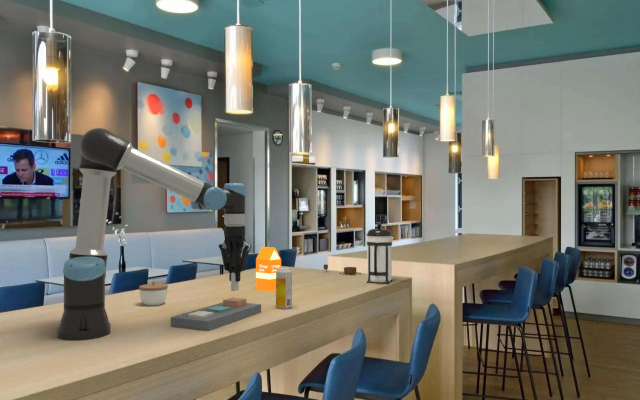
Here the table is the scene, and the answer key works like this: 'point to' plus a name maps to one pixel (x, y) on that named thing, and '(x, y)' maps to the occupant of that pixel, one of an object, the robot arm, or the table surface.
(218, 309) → the teal button
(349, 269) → the place setting
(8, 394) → the table surface
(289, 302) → the beer can
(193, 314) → the cream button
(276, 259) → the orange juice
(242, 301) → the terracotta button
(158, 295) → the lidded jar
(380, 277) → the coffee press
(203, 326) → the panel
